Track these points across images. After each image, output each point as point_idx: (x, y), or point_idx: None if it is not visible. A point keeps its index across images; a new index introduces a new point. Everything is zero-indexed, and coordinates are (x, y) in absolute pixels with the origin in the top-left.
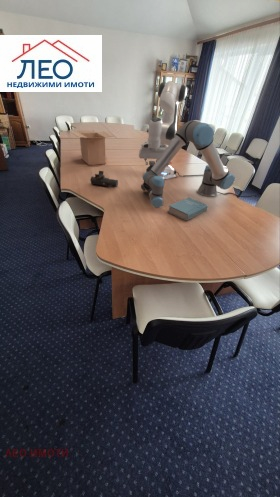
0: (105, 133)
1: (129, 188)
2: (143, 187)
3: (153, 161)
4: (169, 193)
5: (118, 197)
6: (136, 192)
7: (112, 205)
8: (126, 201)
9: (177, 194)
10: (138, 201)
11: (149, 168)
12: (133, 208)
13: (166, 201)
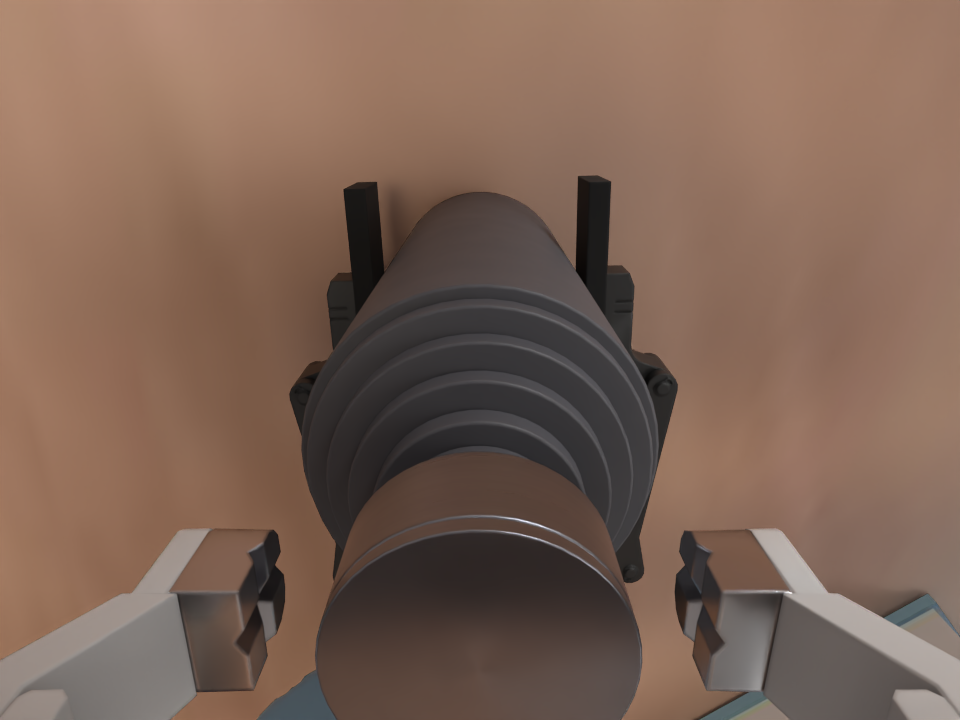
0: None
1: (127, 80)
2: None
3: (558, 627)
4: (817, 273)
5: (21, 452)
6: (266, 262)
7: (6, 652)
8: (150, 557)
9: (937, 306)
10: (302, 552)
11: None
12: (250, 703)
13: (673, 539)
